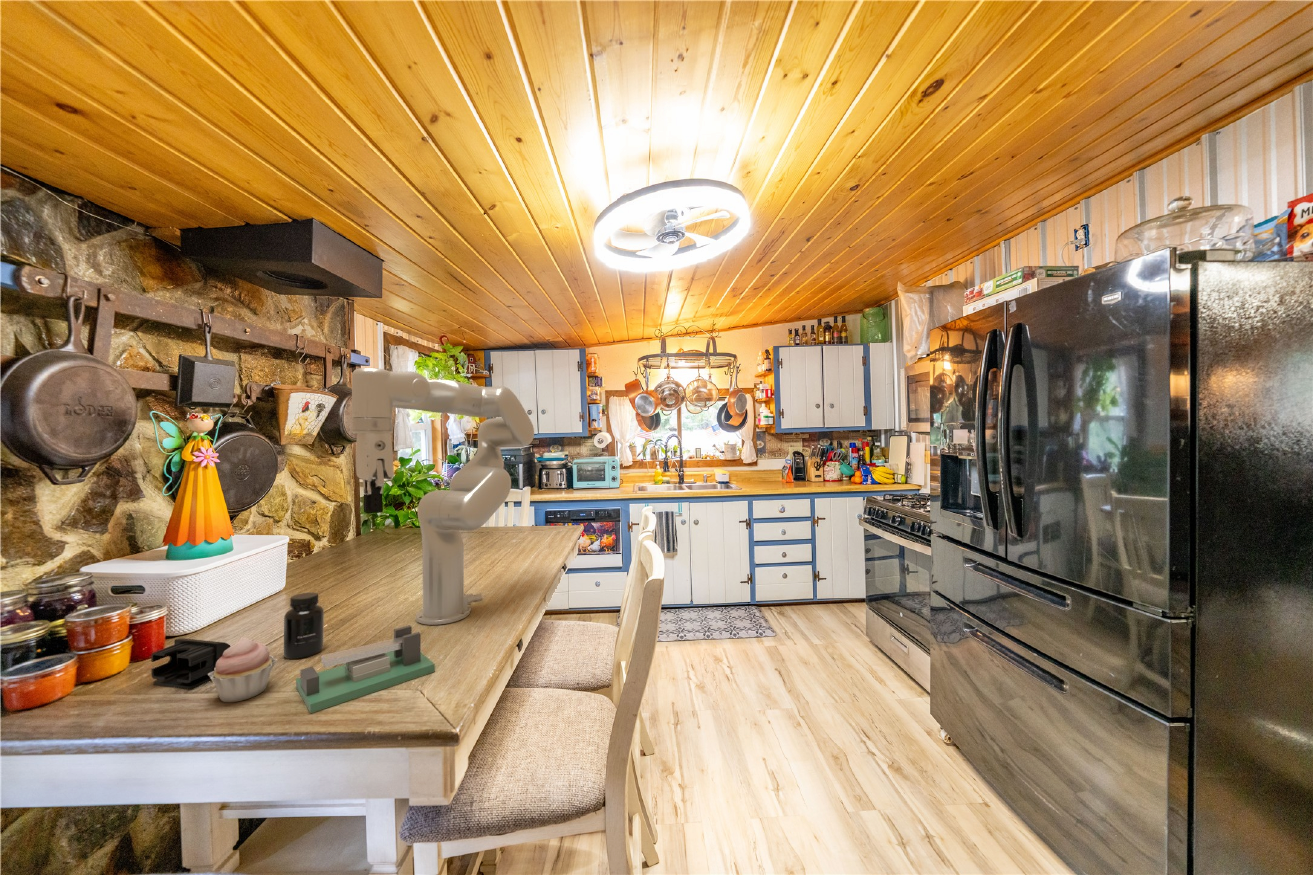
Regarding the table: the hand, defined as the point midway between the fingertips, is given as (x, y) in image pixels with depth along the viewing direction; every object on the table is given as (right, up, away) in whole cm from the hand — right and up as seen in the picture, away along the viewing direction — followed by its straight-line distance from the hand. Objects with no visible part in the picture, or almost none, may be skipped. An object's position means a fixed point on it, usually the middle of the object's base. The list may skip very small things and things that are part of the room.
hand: (373, 512), depth 106 cm
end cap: (-27, -30, -13) cm, 42 cm away
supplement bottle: (-13, -29, -2) cm, 32 cm away
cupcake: (-13, -30, -18) cm, 37 cm away
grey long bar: (+7, -25, -13) cm, 29 cm away
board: (+6, -29, -13) cm, 33 cm away
